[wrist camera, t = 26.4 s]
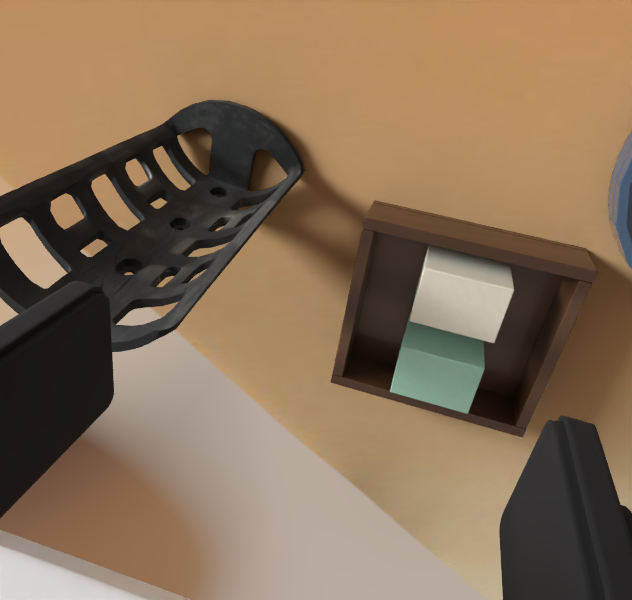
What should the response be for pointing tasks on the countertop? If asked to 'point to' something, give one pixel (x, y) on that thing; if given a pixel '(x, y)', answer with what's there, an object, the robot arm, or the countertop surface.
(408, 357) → the green block
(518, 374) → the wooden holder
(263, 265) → the countertop surface
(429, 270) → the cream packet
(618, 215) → the blue round tray
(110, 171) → the holder
